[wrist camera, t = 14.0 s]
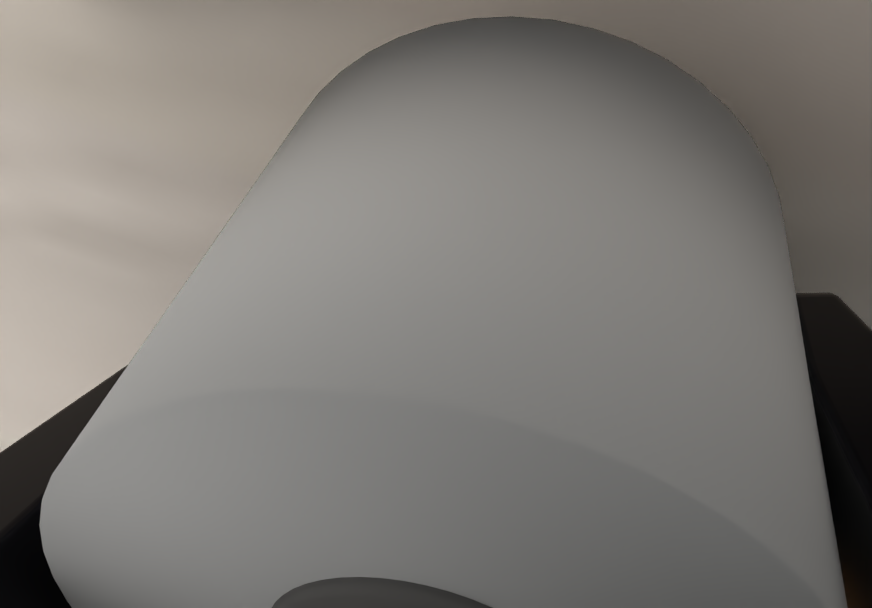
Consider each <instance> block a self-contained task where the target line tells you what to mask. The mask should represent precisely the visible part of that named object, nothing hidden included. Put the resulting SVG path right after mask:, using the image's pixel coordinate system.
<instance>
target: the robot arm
mask: <svg viewBox="0 0 872 608" xmlns="http://www.w3.org/2000/svg"><path fill="white" fill-rule="evenodd" d="M796 299H797V305H798V311H799V318H800V324H801V330H802V336H803V343H804V349H805V355H806V362H807V368H808V374H809V380H810V386H811V392H812V397H813V403H814V409H815V415H816V420H817V426H818V432H819V438H820V443H821V449H822V455H823V461H824V467H825V473H826V480H827V486H828V492H829V498H830V504H831V510H832V516H833V522H834V528H835V534H836V540H837V546H838V552H839V558H840V564H841V570H842V576H843V583H844V589H845V595H846V601H847V607H848V608H872V330H871V329H870V328H869V327H868V326H867V325H866V324H865V323H864V322H863V321H862V320H861V319H860V318H859V317H858V316H857V315H856V314H855V313H854V312H853V311H852V310H851V309H850V308H849V307H848V306H847V305H846V304H845V303H844V302H843V301H842V300H841V299H840V298H839V297H838V296H837V295H835V294H833V293H796ZM128 365H129V364H128ZM128 365H127V366H128ZM127 366H125V367H124V368H123V369H121V370H120V371H118V372H117V373H115V374H114V375H112V376H111V377H109V378H108V379H107V380H105V381H104V382H102V383H101V384H99V385H98V386H96V387H95V388H94V389H92V390H91V391H89V392H88V393H86V394H85V395H83V396H82V397H80V398H79V399H78V400H76V401H75V402H73V403H72V404H70V405H69V406H67V407H66V408H65V409H63V410H62V411H60V412H59V413H57V414H56V415H54V416H53V417H51V418H50V419H49V420H47V421H46V422H44V423H43V424H41V425H40V426H38V427H37V428H35V429H34V430H33V431H31V432H30V433H28V434H27V435H25V436H24V437H22V438H21V439H20V440H18V441H17V442H15V443H14V444H12V445H11V446H9V447H8V448H6V449H5V450H4V451H2V452H1V453H0V608H72V607H71V606H70V604H69V603H68V602H67V600H66V598H65V596H64V595H63V593H62V591H61V590H60V588H59V586H58V585H57V583H56V581H55V579H54V578H53V575H52V573H51V570H50V567H49V565H48V562H47V560H46V557H45V554H44V552H43V546H42V539H41V533H40V526H39V524H40V514H41V503H42V498H43V496H44V493H45V491H46V488H47V486H48V483H49V481H50V478H51V476H52V474H53V472H54V471H55V469H56V468H57V467H58V465H59V464H60V462H61V461H62V459H63V458H64V456H65V455H66V454H67V452H68V451H69V449H70V448H71V446H72V445H73V444H74V442H75V441H76V439H77V438H78V436H79V435H80V433H81V432H82V431H83V429H84V428H85V426H86V425H87V423H88V422H89V421H90V419H91V418H92V416H93V415H94V413H95V412H96V410H97V409H98V408H99V406H100V405H101V403H102V402H103V400H104V399H105V398H106V396H107V395H108V393H109V392H110V390H111V389H112V388H113V386H114V385H115V383H116V382H117V380H118V379H119V377H120V376H121V375H122V373H123V372H124V370H125V369H126V367H127Z"/></svg>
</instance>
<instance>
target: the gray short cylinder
mask: <svg viewBox="0 0 872 608" xmlns="http://www.w3.org/2000/svg"><path fill="white" fill-rule="evenodd" d="M39 526H40V533H41V539H42V546H43V552H44V554H45V557H46V560H47V562H48V565H49V567H50V570H51V573H52V575H53V578H54V579H55V581H56V583H57V585H58V586H59V588H60V590H61V591H62V593H63V595H64V596H65V598H66V600H67V602H68V603H69V604H70V606H71V607H72V608H848V607H847V601H846V595H845V589H844V583H843V576H842V570H841V564H840V558H839V552H838V546H837V540H836V534H835V528H834V522H833V516H832V510H831V504H830V498H829V492H828V486H827V480H826V473H825V467H824V461H823V455H822V449H821V443H820V438H819V432H818V426H817V420H816V415H815V409H814V403H813V397H812V392H811V386H810V380H809V374H808V368H807V362H806V355H805V349H804V343H803V336H802V330H801V324H800V318H799V311H798V305H797V299H796V292H795V286H794V280H793V274H792V268H791V261H790V255H789V249H788V243H787V237H786V231H785V225H784V220H783V214H782V209H781V204H780V198H779V195H778V192H777V189H776V187H775V184H774V181H773V178H772V176H771V173H770V170H769V168H768V165H767V164H766V162H765V160H764V158H763V157H762V155H761V153H760V151H759V150H758V148H757V146H756V144H755V143H754V141H753V139H752V137H751V136H750V135H749V133H748V132H747V131H746V130H745V128H744V127H743V126H742V125H741V123H740V122H739V121H738V120H737V118H736V117H735V116H734V115H733V113H732V112H731V111H730V110H729V108H728V107H726V106H725V105H724V104H723V103H722V102H721V101H720V100H719V99H718V98H717V97H716V96H715V95H713V94H712V93H711V92H710V91H709V90H708V89H707V88H706V87H705V86H704V85H703V84H702V83H700V82H699V81H698V80H696V79H695V78H693V77H692V76H690V75H689V74H687V73H686V72H685V71H683V70H682V69H680V68H679V67H677V66H676V65H674V64H673V63H671V62H670V61H669V60H667V59H665V58H663V57H661V56H659V55H657V54H655V53H653V52H651V51H649V50H647V49H645V48H643V47H641V46H639V45H637V44H635V43H633V42H631V41H628V40H625V39H622V38H619V37H616V36H614V35H611V34H608V33H605V32H602V31H599V30H596V29H594V28H589V27H584V26H580V25H575V24H570V23H566V22H561V21H556V20H549V19H537V18H524V17H492V18H472V19H467V20H461V21H456V22H450V23H445V24H440V25H434V26H431V27H428V28H425V29H422V30H419V31H416V32H413V33H410V34H407V35H404V36H401V37H398V38H396V39H394V40H392V41H390V42H388V43H386V44H384V45H382V46H380V47H378V48H376V49H374V50H372V51H370V52H368V53H367V54H365V55H364V56H362V57H361V58H360V59H358V60H357V61H355V62H354V63H352V64H351V65H350V66H348V67H347V68H345V69H344V70H342V71H341V72H340V73H339V74H338V75H337V76H336V77H335V78H334V79H333V80H332V81H331V82H330V83H329V84H328V85H327V86H325V87H324V88H323V89H322V90H321V91H320V92H319V93H318V95H317V96H316V97H315V99H314V100H313V101H312V103H311V104H310V105H309V107H308V108H307V109H306V111H305V112H304V113H303V115H302V116H301V117H300V119H299V120H298V122H297V123H296V125H295V126H294V127H293V129H292V130H291V132H290V133H289V135H288V136H287V138H286V139H285V140H284V142H283V143H282V145H281V146H280V148H279V149H278V150H277V152H276V153H275V155H274V156H273V158H272V159H271V161H270V162H269V163H268V165H267V166H266V168H265V169H264V171H263V172H262V173H261V175H260V176H259V178H258V179H257V181H256V182H255V184H254V185H253V186H252V188H251V189H250V191H249V192H248V194H247V195H246V196H245V198H244V199H243V201H242V202H241V204H240V205H239V206H238V208H237V209H236V211H235V212H234V214H233V215H232V217H231V218H230V219H229V221H228V222H227V224H226V225H225V227H224V228H223V229H222V231H221V232H220V234H219V235H218V237H217V238H216V240H215V241H214V242H213V244H212V245H211V247H210V248H209V250H208V251H207V252H206V254H205V255H204V257H203V258H202V260H201V261H200V263H199V264H198V265H197V267H196V268H195V270H194V271H193V273H192V274H191V275H190V277H189V278H188V280H187V281H186V283H185V284H184V286H183V287H182V288H181V290H180V291H179V293H178V294H177V296H176V297H175V298H174V300H173V301H172V303H171V304H170V306H169V307H168V308H167V310H166V311H165V313H164V314H163V316H162V317H161V319H160V320H159V321H158V323H157V324H156V326H155V327H154V329H153V330H152V331H151V333H150V334H149V336H148V337H147V339H146V340H145V342H144V343H143V344H142V346H141V347H140V349H139V350H138V352H137V353H136V354H135V356H134V357H133V359H132V360H131V362H130V363H129V365H128V366H127V367H126V369H125V370H124V372H123V373H122V375H121V376H120V377H119V379H118V380H117V382H116V383H115V385H114V386H113V388H112V389H111V390H110V392H109V393H108V395H107V396H106V398H105V399H104V400H103V402H102V403H101V405H100V406H99V408H98V409H97V410H96V412H95V413H94V415H93V416H92V418H91V419H90V421H89V422H88V423H87V425H86V426H85V428H84V429H83V431H82V432H81V433H80V435H79V436H78V438H77V439H76V441H75V442H74V444H73V445H72V446H71V448H70V449H69V451H68V452H67V454H66V455H65V456H64V458H63V459H62V461H61V462H60V464H59V465H58V467H57V468H56V469H55V471H54V472H53V474H52V476H51V478H50V481H49V483H48V486H47V488H46V491H45V493H44V496H43V498H42V503H41V514H40V524H39Z"/></svg>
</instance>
